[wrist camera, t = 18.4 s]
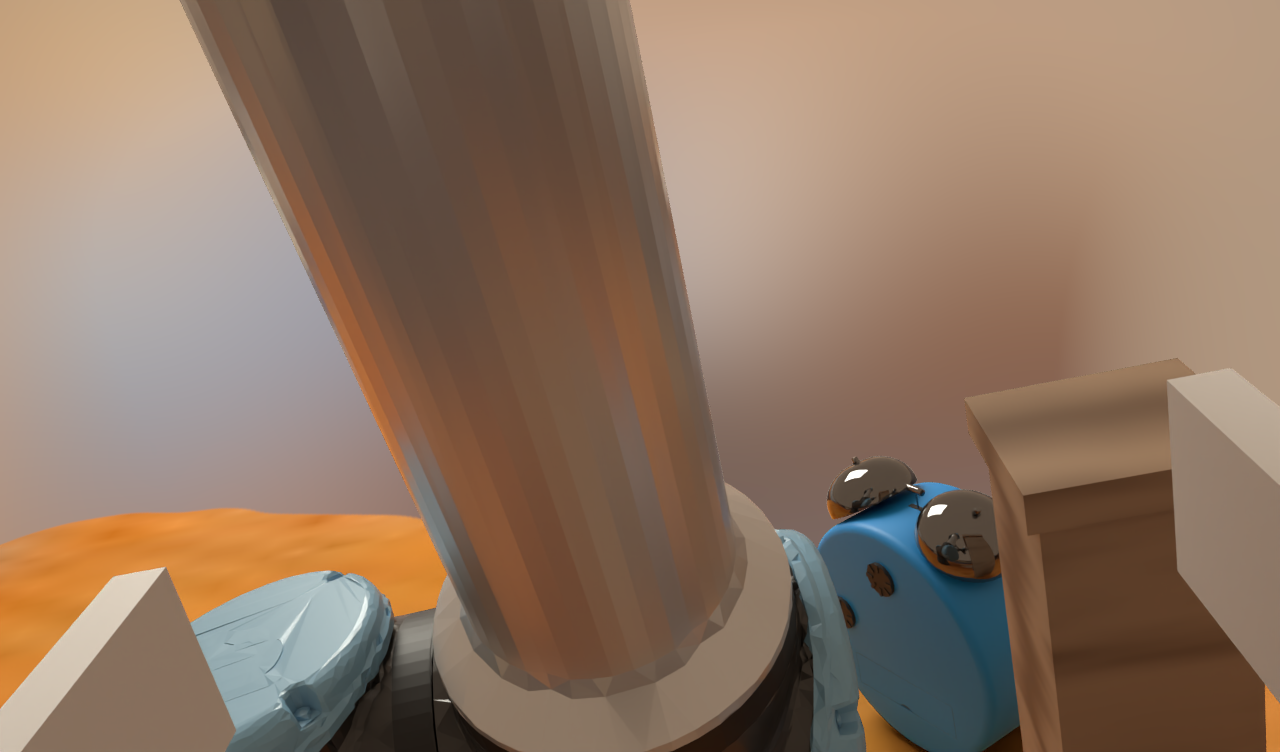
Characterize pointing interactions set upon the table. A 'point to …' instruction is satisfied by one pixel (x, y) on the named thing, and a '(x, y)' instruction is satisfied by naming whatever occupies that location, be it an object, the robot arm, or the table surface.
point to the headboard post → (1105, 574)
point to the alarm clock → (923, 604)
